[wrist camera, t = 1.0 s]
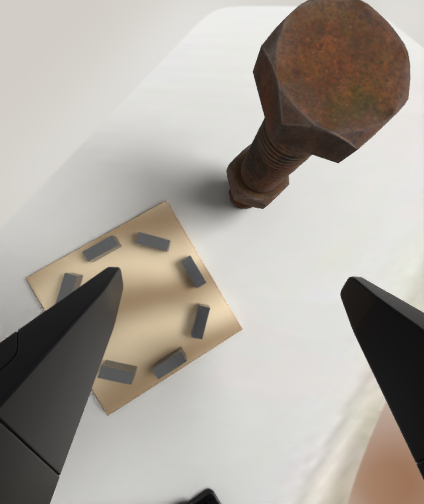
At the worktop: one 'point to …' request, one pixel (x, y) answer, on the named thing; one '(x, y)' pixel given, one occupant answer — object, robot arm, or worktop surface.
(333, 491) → the worktop surface
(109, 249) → the castellated ring
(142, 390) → the tan flat square board
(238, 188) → the bolt
